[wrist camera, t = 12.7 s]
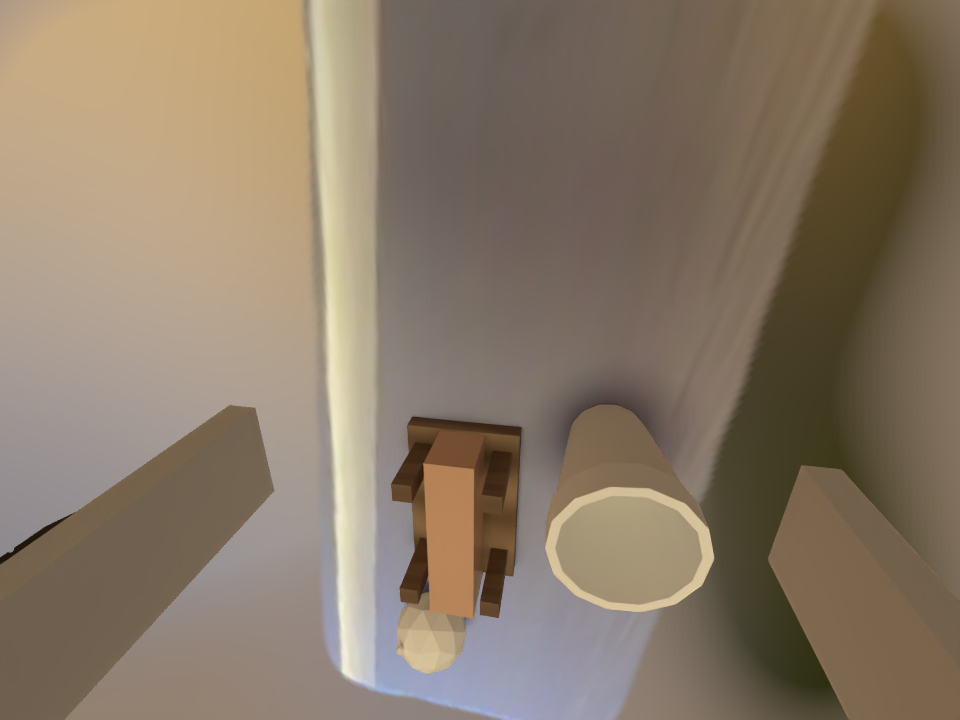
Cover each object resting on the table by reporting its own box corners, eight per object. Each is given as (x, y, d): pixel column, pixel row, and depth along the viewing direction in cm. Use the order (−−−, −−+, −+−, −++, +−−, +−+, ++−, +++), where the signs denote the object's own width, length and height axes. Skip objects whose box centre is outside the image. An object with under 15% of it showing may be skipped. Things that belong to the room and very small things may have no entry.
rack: (412, 417, 40) (381, 464, 34) (521, 427, 39) (511, 479, 32) (420, 550, 46) (394, 613, 40) (514, 564, 45) (505, 633, 38)
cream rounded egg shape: (439, 635, 51) (379, 674, 45) (434, 571, 51) (374, 602, 45) (483, 661, 46) (422, 708, 40) (477, 589, 46) (416, 626, 40)
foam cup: (613, 500, 40) (634, 634, 28) (530, 443, 39) (515, 556, 27) (690, 429, 36) (751, 549, 24) (599, 365, 36) (617, 456, 24)
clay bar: (482, 573, 44) (473, 618, 39) (444, 567, 45) (430, 611, 40) (484, 435, 38) (474, 469, 33) (440, 430, 39) (423, 463, 34)
